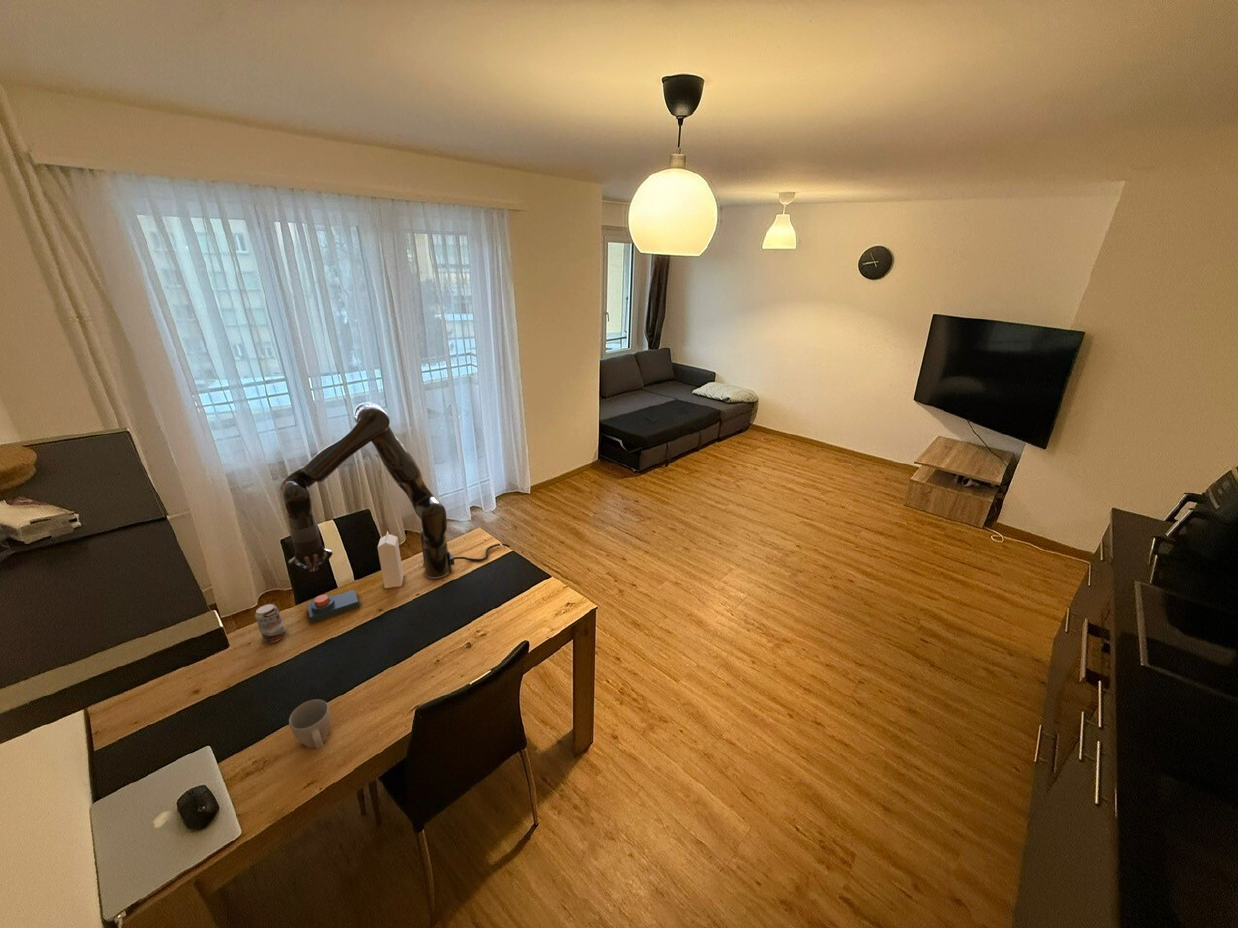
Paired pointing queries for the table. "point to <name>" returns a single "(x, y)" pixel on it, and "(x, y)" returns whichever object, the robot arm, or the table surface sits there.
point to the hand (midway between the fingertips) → (316, 578)
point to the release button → (321, 600)
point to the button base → (333, 606)
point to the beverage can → (270, 623)
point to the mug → (311, 723)
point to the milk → (390, 561)
